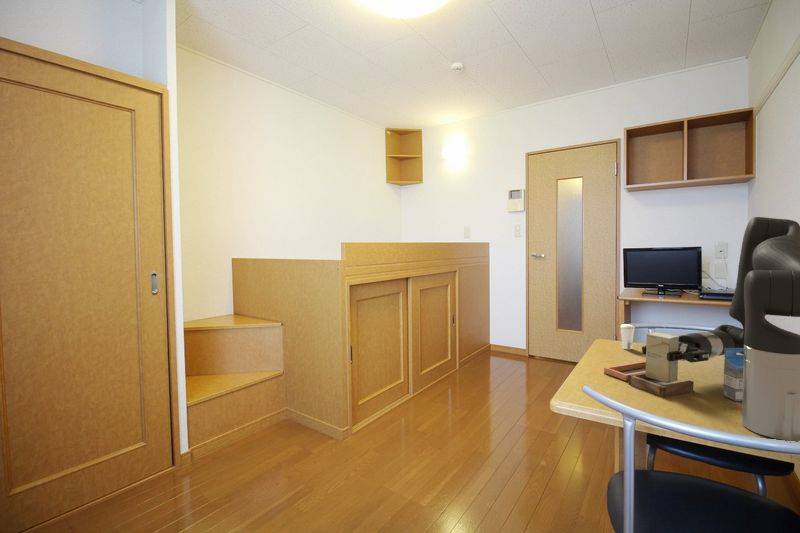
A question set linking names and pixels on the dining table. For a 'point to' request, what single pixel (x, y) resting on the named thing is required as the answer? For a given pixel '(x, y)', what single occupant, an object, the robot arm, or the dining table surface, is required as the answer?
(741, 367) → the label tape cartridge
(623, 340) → the milkshake
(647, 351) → the skincare box
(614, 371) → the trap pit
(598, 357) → the dining table surface
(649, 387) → the walled bay
